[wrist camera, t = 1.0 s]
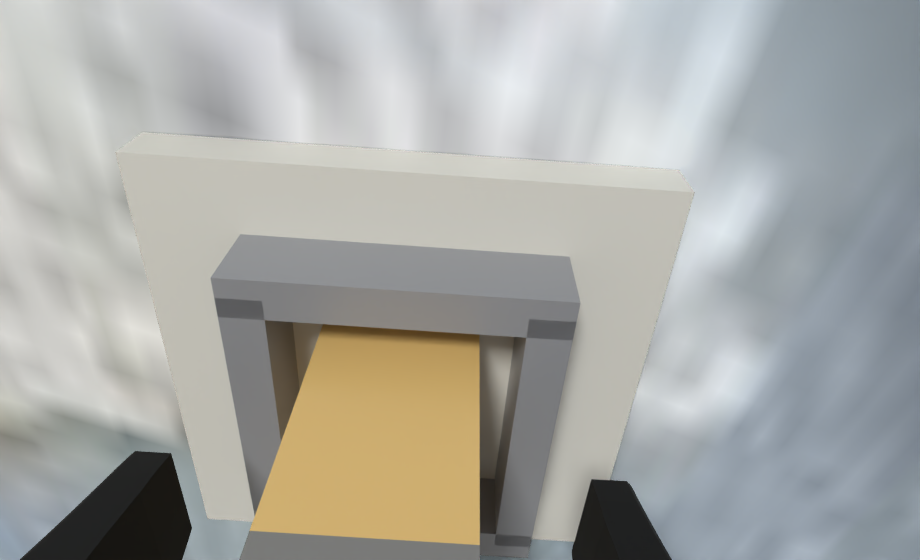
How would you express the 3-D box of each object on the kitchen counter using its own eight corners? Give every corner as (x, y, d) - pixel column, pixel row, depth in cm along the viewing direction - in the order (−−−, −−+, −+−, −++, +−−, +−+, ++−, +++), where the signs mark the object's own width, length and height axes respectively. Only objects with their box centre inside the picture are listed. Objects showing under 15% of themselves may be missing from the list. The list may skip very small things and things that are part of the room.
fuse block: (678, 170, 11) (723, 233, 9) (585, 510, 17) (601, 598, 15) (142, 131, 11) (65, 187, 9) (221, 487, 17) (184, 573, 15)
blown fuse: (479, 318, 12) (479, 622, 7) (465, 455, 14) (458, 763, 9) (328, 308, 12) (222, 606, 7) (337, 447, 14) (260, 752, 9)
